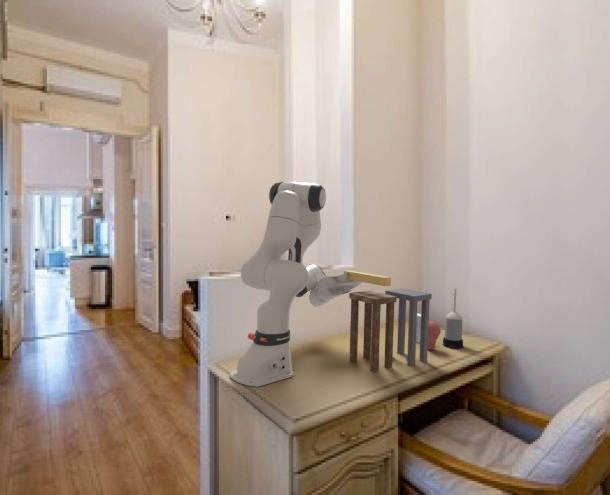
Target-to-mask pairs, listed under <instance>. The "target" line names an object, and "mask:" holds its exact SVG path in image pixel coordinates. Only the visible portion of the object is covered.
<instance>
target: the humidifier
mask: <svg viewBox="0 0 610 495" xmlns="http://www.w3.org/2000/svg"><path fill="white" fill-rule="evenodd" d="M451 301H452V302H451V304H452V306H451V308H452V311H451V312H449V313H447V314H446V316H445V326H444V327H445V328H444V337H443V339H442V346H444V347H446V348H448V349H455V350H460V349H463V348H464V340H463V337H462V336H463V317H462V316H461V314H460V313H458V312H457V311H456V309H457V288H454V290H453V298H452V300H451Z"/></svg>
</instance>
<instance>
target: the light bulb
mask: <svg viewBox="0 0 610 495" xmlns="http://www.w3.org/2000/svg"><path fill="white" fill-rule="evenodd" d="M441 333H442V332H441V326H440V324H438V323H437V322H435V321H434V320H429V328H428V351H429V350H430V351H432V350H435V349H436V343H437V339H438V338H439V336H440V334H441Z"/></svg>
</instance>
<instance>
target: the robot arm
mask: <svg viewBox="0 0 610 495" xmlns="http://www.w3.org/2000/svg"><path fill="white" fill-rule="evenodd" d="M268 194H269V195H268V198H269V202H270V204H271V206H270V209H269V213H268V218H267V223H266V227H265V228H266V229H265V232H264V235H263V239H262V241H261V244H260V245H259V248H258V249H257V251H256V252H255V253H254V254H253V255H252V256H251V257H250V258H248V259H247V260H245V261H244V262H243V264H242V265H241V269H240V278H241V281H242V283H243V284H244V285H246V286H248V287H251V288H253V289H258V290H264V291H269V298H268V299H267V300H266V301H264V302H263V303H261V304H260V305H259V306H258V307H257V312H256V313H257V314H256V316H257V318H256V330H255V332H254V333H252V332H248V334H247V335H246V336H247V339H249V340H252V341H253V342H252V343H250V345H249V346H248V347H247V349H245V350H244V352H243V353H242V354H241V355H239V358H238V360H237V364H236V369H235V370H233V371H230V372H229V378H231V380H233V381H234V382H237V383H238V384H241V385H245V386H249V387H254V388H255V387H256V388H257V387H261V386H265V385H268V384H271V383H275V382H278V381H282V380H287V379H289V378H292V377H294V375H295V374H294V368H293V364H292V356H291V355H292V354H291V347H290V341H291V330H290V314H291V312H290V311H291V307H292V304H293V302H294V299H295V298H301V297H303V296H304V295H306V293H307V292H308V291H310V290H311V291H310V295H309V300H310V303H311V304H312V305H313V306H312V307H314V308H316V307H317V308H318V307H321V306H324V305H325V304H327V303H328V302H330V301H331V300H334V299H335V298H337V297H340V296H341V295H346V294H349V293H352V290H353V289H355V288H356V287H358V286H360V285H361V284H362V283H363V282H360V281H355V280H350V279H345V278H348V277H349V273H344V272H343V273H342V274H339V275H329V276H328V275H327V276H326V274H325V272H324V270H323V269H322V268H321V267H320V266H319V265H317V264H313V263H312V264H309V265H306V266H305V264H303V258H304V254H305V253H306V251H307V250H308V248H309V247H310V246H311V245H312V244H313V243H314V242H315V241H316V240H317V239H319V237H320V234H321V231H322V230H321V229H322V225H321V224H322V223H321V212H320V211H321V210H322V209H323V208H324V207H325V204H326V201H327V200H326V199H327V195H326V190H325V188H324V187H323V185H322V184H319V183H309V182H300V181H286V182H284V181H279V182H275V183H274V184H272V186H271V187H270V189H269V193H268ZM287 251H288V256H287V257H288V258H287V259H282V256H283V255H284V254H285V252H287Z"/></svg>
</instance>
